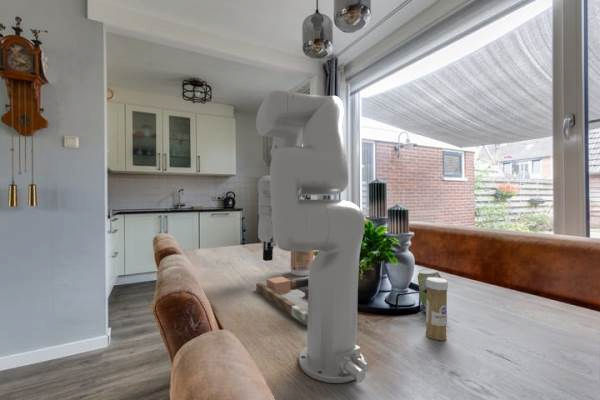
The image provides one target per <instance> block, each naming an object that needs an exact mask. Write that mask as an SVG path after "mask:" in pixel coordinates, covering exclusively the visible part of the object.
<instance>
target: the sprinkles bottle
mask: <svg viewBox="0 0 600 400" xmlns="http://www.w3.org/2000/svg"><path fill="white" fill-rule="evenodd" d="M448 282H449V281H448V280H447V279H445V278H437V277H429V278H427V279H426V286H427V299H426V312H425V322H426V323H425V324H426V325H425V336H427V337H428V338H429V339H432V340H435V341H444V340H447V323H448V321H447V320H448V319H447V318H448V311H447V310H448V309H447V308H448V307H447V306H448V304H447V303H448V302H447V301H448V300H447V298H448V297H447V296H448V293H447V292H448V287H449V283H448Z"/></svg>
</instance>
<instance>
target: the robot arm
mask: <svg viewBox="0 0 600 400" xmlns="http://www.w3.org/2000/svg"><path fill="white" fill-rule="evenodd" d="M343 121H344V105H343V103H342V100H341V99H340V98H339V97H338V96H336V95H315V94H309V93H301V92H295V91H289V90H288V91H287V90H280V89H276V90H271V91H270V92H269V93H268V94H267V95H266V97H265V98H264V99H263V101H262V103H261V104H260V106H259V109H258V111H257V114H256V120H255V128H256V130H257V131H256V132H257V133H258V134H259V135H260V136H263V137H271V138H273V142H272V145H271V148H270V155H271V156H270V157H271V161H270V167H269V175H263V176H261V177H260V178H259V180H258V183H257V190H258V191H257V192H258V211H257V213H258V215H259V217H258V228H257V229H258V230H257V234H258V235H257V236H258V239H259V240H260V243H261V244H262V260H263V261H265V262H269V261H273V258H274V257H273V254H274V253H273V252H274V247H278V248H279V249H280V250H282V251H285V252H291V251H312V250H313V251H317V253H316V255H315V257H314V258H313V262H312V264H311V266H310V270H309V275H308V278H309V279H308V298H307V312H308V327H307V338H306V339H307V345H306V346H305V347H303V348H302V349H301V350H300V353H299V354H298V356H299V357H298V363H299V364H298V365H299V366H300V368H301V370H302V371H303V372H304V373H305V374H306V375H308V377H311V378H313V379H315V380H316V381H317V380H318V381H320V382H325V383H332V384H342V383H343V384H344V383H348V382H351V381H354V380H355V381H356V382H358V383H362V382H363V381H364V379H365V377H366V372H368V371H369V369H370V368H371V367H370V364H369V363H368V362H367V361H365V357H364V355H363V354H362V352H361V348H362V347H360V346H359V345H357V344H358V343H357V342H358V301H359V299H358V295H359V293H358V291H359V290H358V289H359V266H360V265H359V264H360V254H361V249H362V248H361V247H362V242H363V238H364V234H365V226H366V223H365V217H364V213H363V212H362V209H361V208H360V207H359V206H358V205H357V204H355V203H353V202H351V201H347V200H343V199H328V198H327V199H326V198H325V199H324V198H322V199H320V198H318V199H306V198H305V199H304V198H303V199H302V198H301V199H299V196H334V195H335V196H336V195H339V194H341V193H342V192H344V191H345V190H346V189H347V187H348V185H349V170H348V169H349V168H348V162H347V156H346V149H345V143H344V142H345V141H344V136H343Z"/></svg>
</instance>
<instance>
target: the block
mask: <svg viewBox="0 0 600 400" xmlns="http://www.w3.org/2000/svg"><path fill="white" fill-rule="evenodd" d="M290 284H291V281H290V280H288V279H286V277H284V276H278V277H277V276H276V277H271V278H266V286H267V287H268V288H270V289H271V290H273V291H275V292H276V293H278V294H279V295H282V294H286V293H290V292H291V288H290Z"/></svg>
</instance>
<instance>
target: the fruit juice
mask: <svg viewBox="0 0 600 400" xmlns="http://www.w3.org/2000/svg"><path fill="white" fill-rule="evenodd" d="M313 257H314V250H312V251H290V274H291V275H293V276H297V277H307V276H308V277H309V270H310V266H311V264H312V262H313V260H314V258H313Z"/></svg>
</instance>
